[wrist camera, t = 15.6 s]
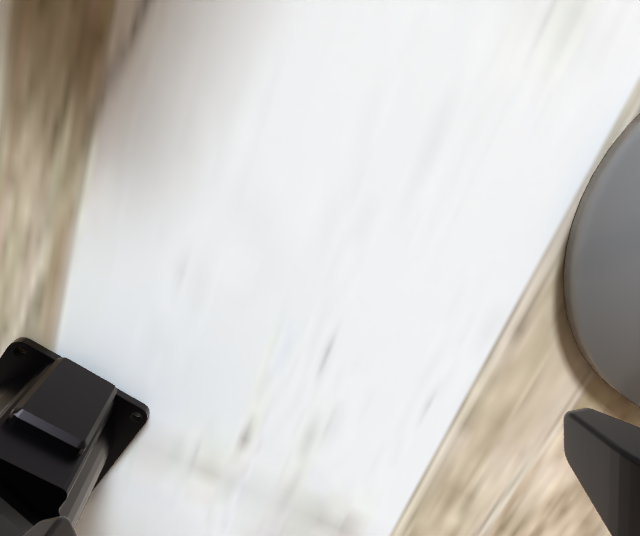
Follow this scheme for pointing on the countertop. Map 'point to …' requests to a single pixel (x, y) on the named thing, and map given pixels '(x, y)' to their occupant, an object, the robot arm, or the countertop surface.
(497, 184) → the countertop surface
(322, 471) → the countertop surface
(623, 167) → the slate plate
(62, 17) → the countertop surface
